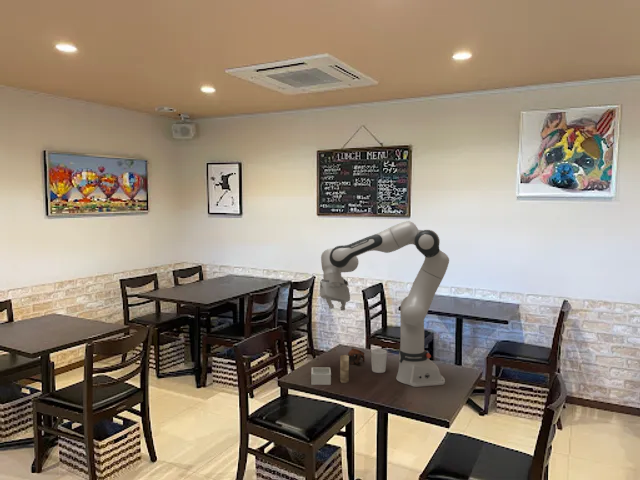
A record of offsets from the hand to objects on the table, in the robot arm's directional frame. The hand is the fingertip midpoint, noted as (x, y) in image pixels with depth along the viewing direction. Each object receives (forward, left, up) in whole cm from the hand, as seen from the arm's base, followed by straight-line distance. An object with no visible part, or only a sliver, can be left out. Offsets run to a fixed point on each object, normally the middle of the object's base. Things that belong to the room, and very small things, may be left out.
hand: (337, 309), depth 226 cm
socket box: (+8, +6, -33) cm, 34 cm away
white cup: (-21, -8, -33) cm, 40 cm away
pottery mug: (-11, -20, -33) cm, 41 cm away
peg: (-3, +6, -33) cm, 34 cm away
